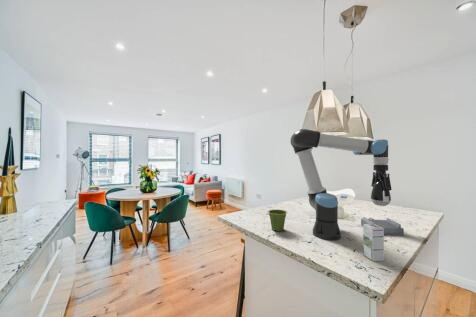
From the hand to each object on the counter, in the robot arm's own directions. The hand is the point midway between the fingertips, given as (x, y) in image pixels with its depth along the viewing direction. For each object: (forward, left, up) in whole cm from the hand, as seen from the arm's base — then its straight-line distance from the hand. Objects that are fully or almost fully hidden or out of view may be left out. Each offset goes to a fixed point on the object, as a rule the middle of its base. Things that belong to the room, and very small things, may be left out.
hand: (380, 199), depth 123 cm
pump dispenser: (0, 0, -3) cm, 3 cm away
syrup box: (-23, -39, -19) cm, 49 cm away
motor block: (0, +2, -19) cm, 19 cm away
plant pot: (-64, -10, -19) cm, 67 cm away
